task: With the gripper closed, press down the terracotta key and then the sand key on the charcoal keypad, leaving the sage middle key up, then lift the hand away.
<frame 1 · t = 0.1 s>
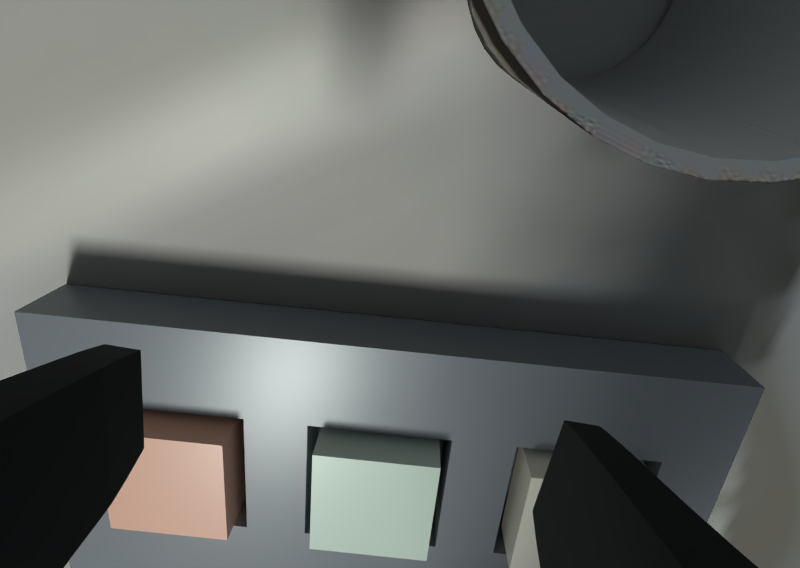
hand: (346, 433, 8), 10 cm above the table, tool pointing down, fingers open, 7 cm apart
terracotta key: (176, 468, 18), point 2 cm above the table, slide at 0.0 cm
keypad: (379, 444, 21), on the table
sand key: (573, 509, 18), point 3 cm above the table, slide at 0.0 cm
sage key: (374, 489, 18), point 3 cm above the table, slide at 0.0 cm
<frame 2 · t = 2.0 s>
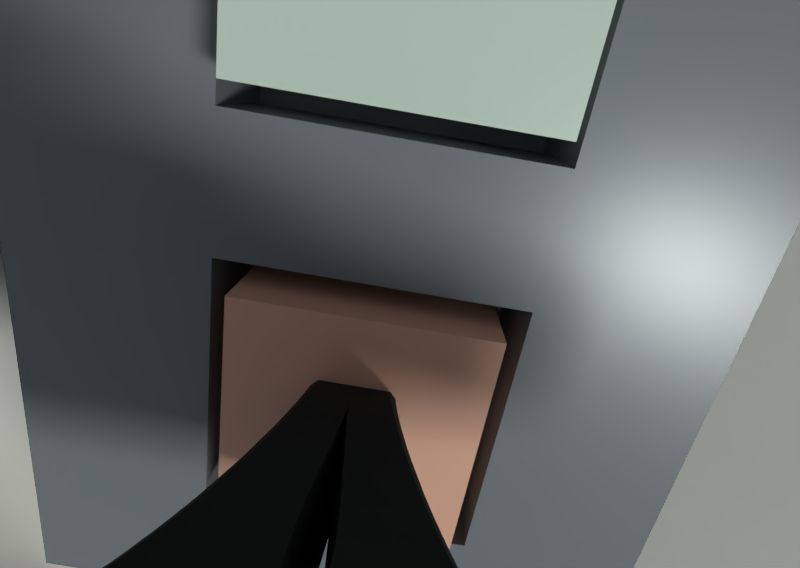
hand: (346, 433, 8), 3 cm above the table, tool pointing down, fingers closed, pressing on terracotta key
terracotta key: (356, 400, 9), point 2 cm above the table, slide at 0.5 cm, touching gripper
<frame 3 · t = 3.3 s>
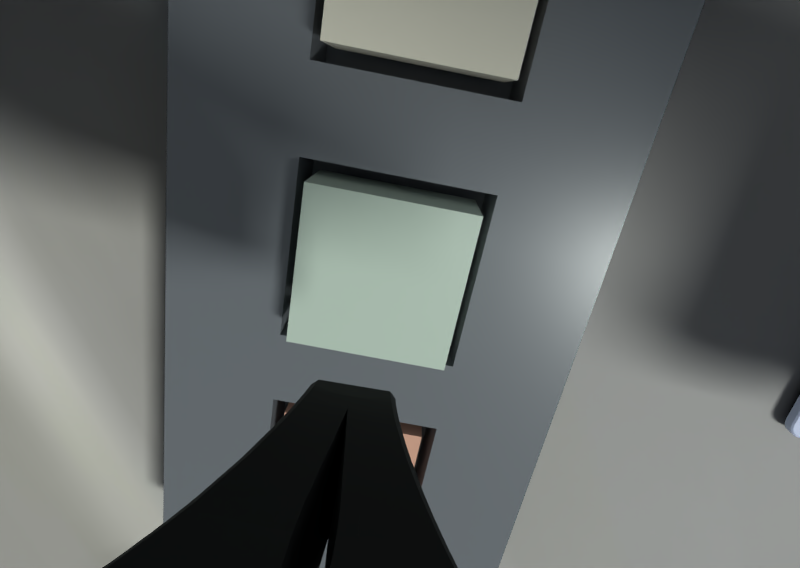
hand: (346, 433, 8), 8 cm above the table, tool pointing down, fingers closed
terracotta key: (347, 457, 17), point 2 cm above the table, slide at 1.0 cm
keypad: (387, 243, 16), on the table
sage key: (381, 269, 13), point 2 cm above the table, slide at 0.0 cm
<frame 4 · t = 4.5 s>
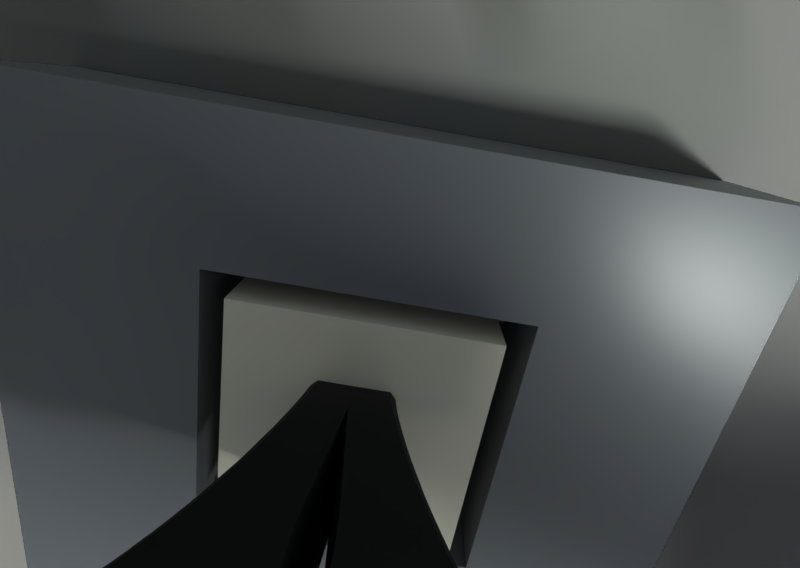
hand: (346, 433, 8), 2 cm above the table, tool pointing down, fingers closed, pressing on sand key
sand key: (355, 402, 9), point 2 cm above the table, slide at 1.0 cm, touching gripper
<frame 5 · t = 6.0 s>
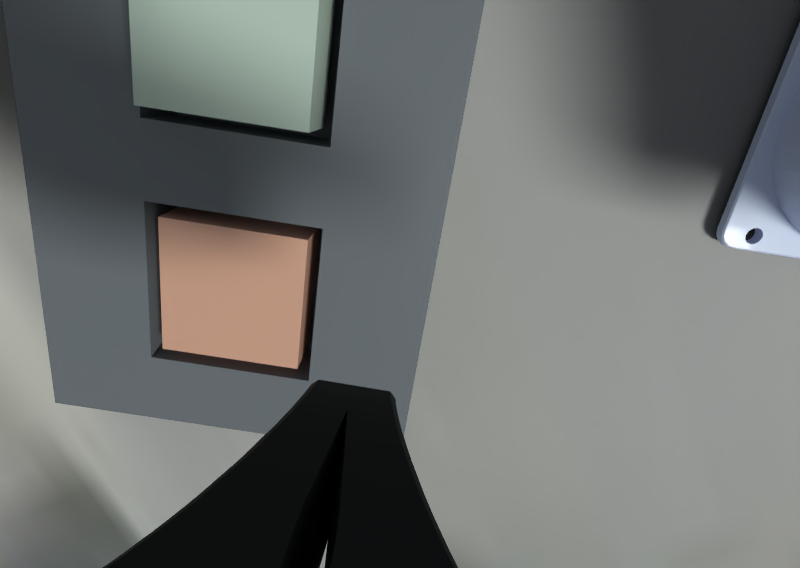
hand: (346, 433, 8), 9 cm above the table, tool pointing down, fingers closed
terracotta key: (242, 285, 16), point 2 cm above the table, slide at 1.0 cm
keypad: (267, 36, 15), on the table
sage key: (237, 26, 12), point 2 cm above the table, slide at 0.0 cm
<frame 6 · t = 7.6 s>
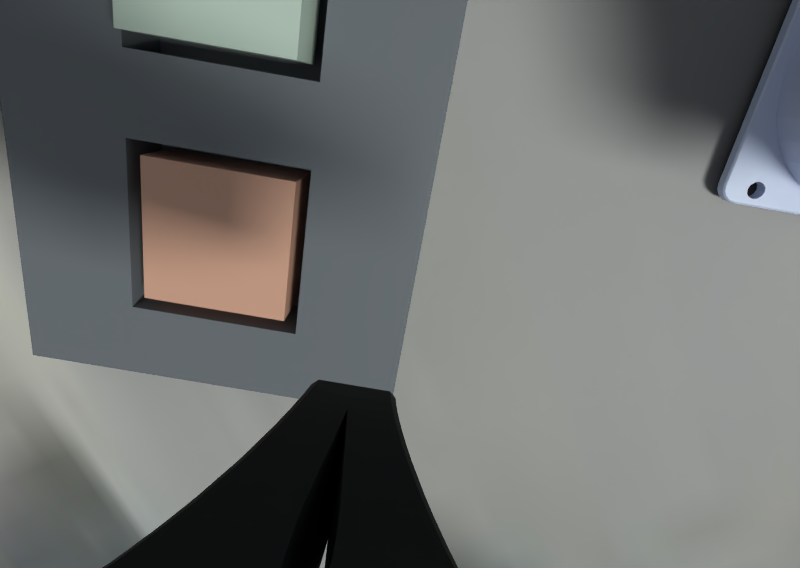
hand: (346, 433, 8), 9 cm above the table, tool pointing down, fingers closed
terracotta key: (228, 233, 15), point 2 cm above the table, slide at 1.0 cm
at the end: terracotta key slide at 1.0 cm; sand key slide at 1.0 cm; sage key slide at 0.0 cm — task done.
